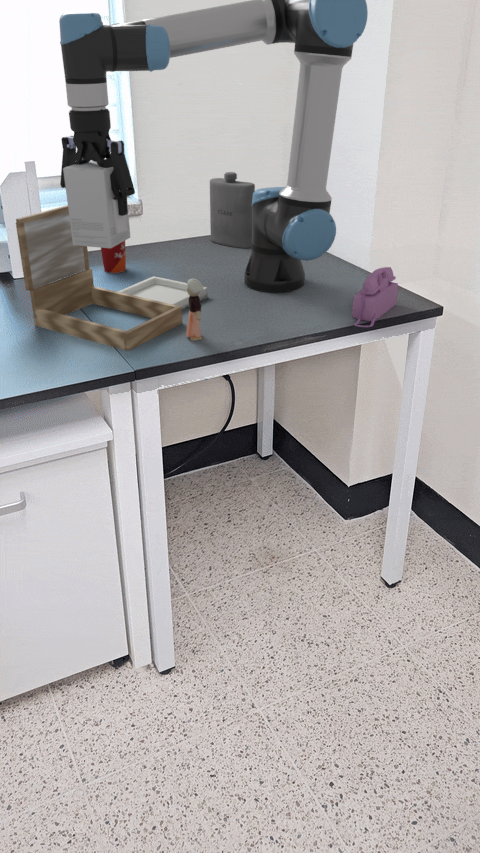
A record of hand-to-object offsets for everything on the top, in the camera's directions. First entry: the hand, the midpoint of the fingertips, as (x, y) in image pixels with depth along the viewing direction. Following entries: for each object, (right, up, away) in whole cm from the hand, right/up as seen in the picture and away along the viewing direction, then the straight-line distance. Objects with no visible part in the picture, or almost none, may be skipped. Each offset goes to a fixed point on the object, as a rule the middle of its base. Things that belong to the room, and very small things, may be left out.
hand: (100, 228), depth 145 cm
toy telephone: (+58, -15, +16) cm, 62 cm away
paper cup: (-5, +1, +45) cm, 45 cm away
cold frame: (0, -18, +10) cm, 21 cm away
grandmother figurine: (+19, -22, +4) cm, 29 cm away
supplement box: (0, -3, +1) cm, 3 cm away
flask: (+25, +14, +67) cm, 73 cm away
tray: (+9, -11, +23) cm, 27 cm away
